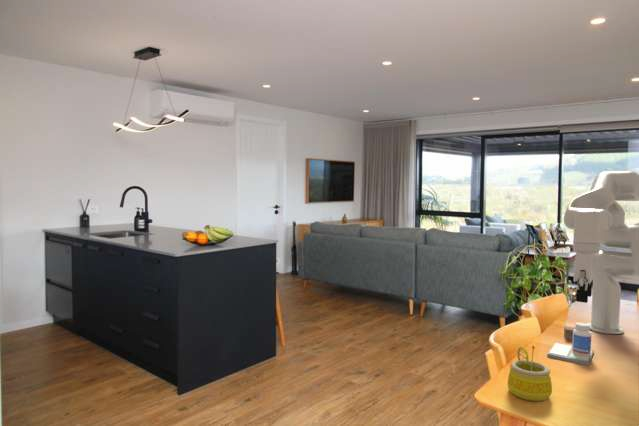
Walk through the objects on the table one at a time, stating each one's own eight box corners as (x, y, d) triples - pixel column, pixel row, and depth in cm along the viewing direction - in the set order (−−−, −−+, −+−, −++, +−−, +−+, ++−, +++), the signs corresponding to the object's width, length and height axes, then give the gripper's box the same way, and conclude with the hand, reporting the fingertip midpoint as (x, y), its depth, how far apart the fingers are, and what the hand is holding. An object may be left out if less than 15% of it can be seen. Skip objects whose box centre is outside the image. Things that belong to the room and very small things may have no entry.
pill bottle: (593, 356, 150) (594, 327, 150) (575, 355, 151) (576, 326, 151) (586, 350, 155) (588, 322, 155) (569, 349, 157) (570, 321, 156)
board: (554, 345, 164) (554, 342, 164) (593, 352, 157) (593, 349, 157) (547, 356, 153) (547, 353, 153) (588, 365, 146) (588, 361, 146)
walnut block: (563, 336, 174) (564, 326, 174) (575, 337, 173) (576, 327, 173) (565, 339, 171) (565, 329, 170) (577, 341, 169) (577, 330, 169)
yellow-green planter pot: (549, 408, 117) (551, 362, 116) (504, 397, 123) (505, 353, 122) (554, 389, 128) (556, 347, 127) (512, 380, 134) (513, 340, 133)
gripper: (576, 243, 160) (574, 292, 161) (569, 249, 146) (566, 302, 147) (602, 245, 156) (599, 295, 157) (596, 252, 142) (593, 306, 143)
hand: (583, 298), depth 152 cm, fingers open, 9 cm apart
